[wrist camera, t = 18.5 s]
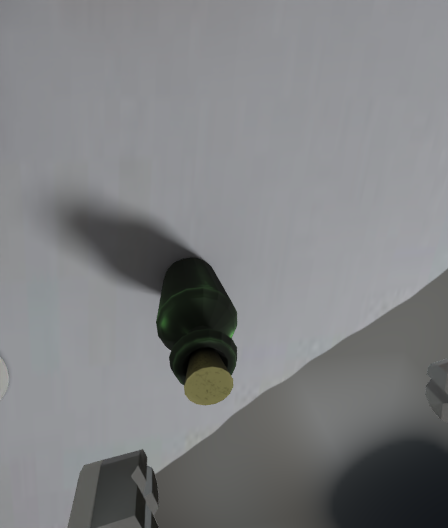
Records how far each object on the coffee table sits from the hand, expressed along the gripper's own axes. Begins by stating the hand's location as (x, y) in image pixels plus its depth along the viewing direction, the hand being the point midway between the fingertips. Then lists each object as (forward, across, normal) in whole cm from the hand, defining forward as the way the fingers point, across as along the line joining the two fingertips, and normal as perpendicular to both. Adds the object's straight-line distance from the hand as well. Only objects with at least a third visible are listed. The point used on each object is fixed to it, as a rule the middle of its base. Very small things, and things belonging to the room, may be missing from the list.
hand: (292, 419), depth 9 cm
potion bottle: (+31, +3, +11) cm, 33 cm away
